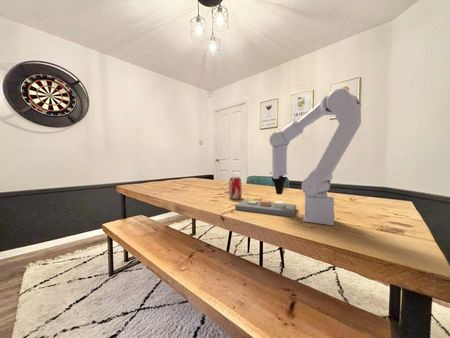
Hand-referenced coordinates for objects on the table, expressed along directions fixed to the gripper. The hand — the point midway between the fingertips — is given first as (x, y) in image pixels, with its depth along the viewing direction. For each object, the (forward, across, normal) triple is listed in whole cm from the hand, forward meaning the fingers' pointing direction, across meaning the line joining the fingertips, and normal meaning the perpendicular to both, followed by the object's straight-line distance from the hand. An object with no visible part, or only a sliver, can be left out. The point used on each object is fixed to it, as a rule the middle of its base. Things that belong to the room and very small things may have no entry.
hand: (279, 194), depth 78 cm
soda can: (+8, -16, -28) cm, 33 cm away
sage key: (+7, 0, -12) cm, 14 cm away
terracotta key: (+6, 0, -6) cm, 8 cm away
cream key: (+6, 0, 0) cm, 6 cm away
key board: (+7, 0, -6) cm, 10 cm away
